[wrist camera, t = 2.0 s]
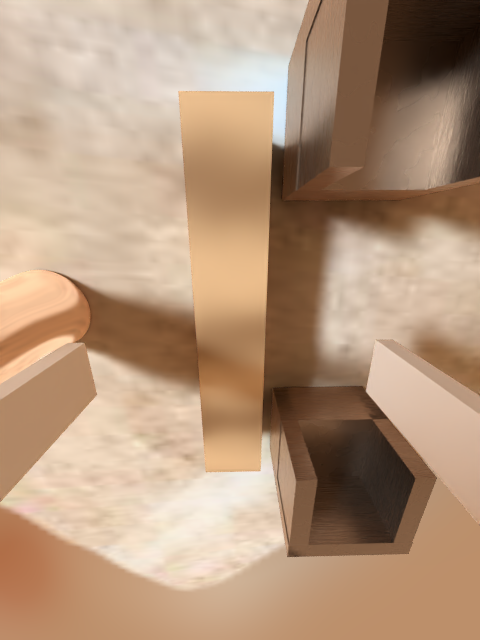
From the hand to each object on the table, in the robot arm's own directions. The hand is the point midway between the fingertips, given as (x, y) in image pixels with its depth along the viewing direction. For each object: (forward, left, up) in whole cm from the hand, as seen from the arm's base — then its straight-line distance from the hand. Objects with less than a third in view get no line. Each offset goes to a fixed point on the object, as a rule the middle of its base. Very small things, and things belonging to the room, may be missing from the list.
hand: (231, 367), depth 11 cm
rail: (0, 0, -9) cm, 9 cm away
